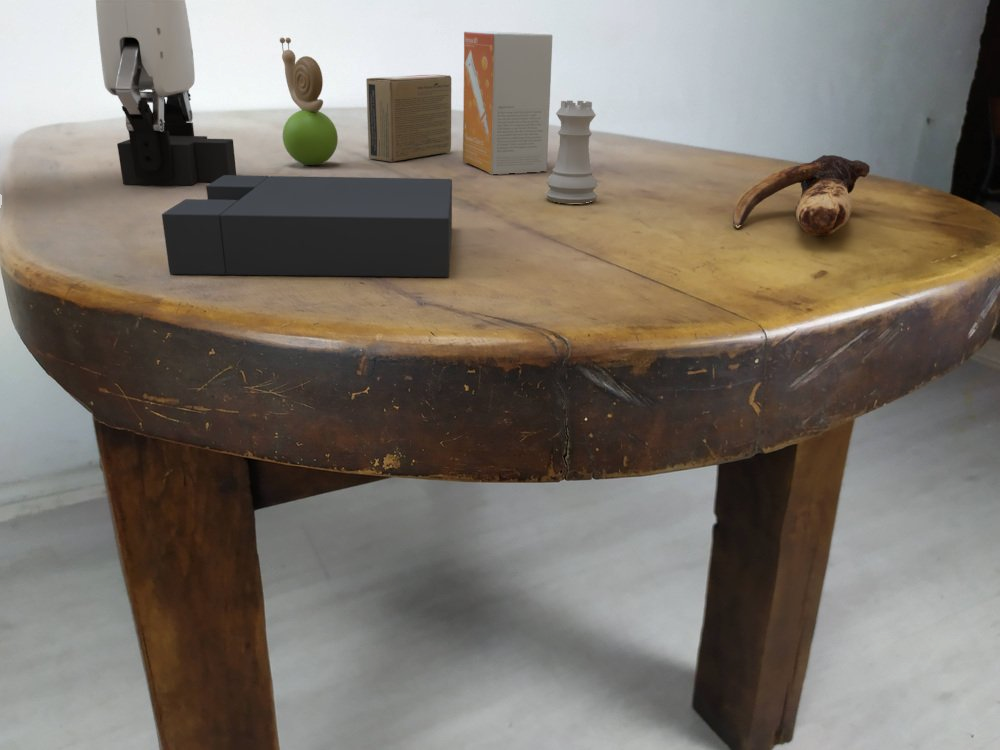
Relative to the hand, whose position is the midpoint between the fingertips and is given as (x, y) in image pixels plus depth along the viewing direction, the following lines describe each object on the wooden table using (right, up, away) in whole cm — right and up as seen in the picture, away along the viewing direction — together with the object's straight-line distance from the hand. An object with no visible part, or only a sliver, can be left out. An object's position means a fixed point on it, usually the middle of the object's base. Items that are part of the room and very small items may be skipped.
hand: (167, 170), depth 75 cm
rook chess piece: (+36, -4, -4) cm, 37 cm away
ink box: (+20, +6, +17) cm, 27 cm away
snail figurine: (+11, +3, +10) cm, 15 cm away
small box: (+31, +3, +11) cm, 33 cm away
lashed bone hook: (+53, -7, -11) cm, 55 cm away
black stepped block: (+1, -1, 0) cm, 2 cm away
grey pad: (+19, -10, -21) cm, 30 cm away
